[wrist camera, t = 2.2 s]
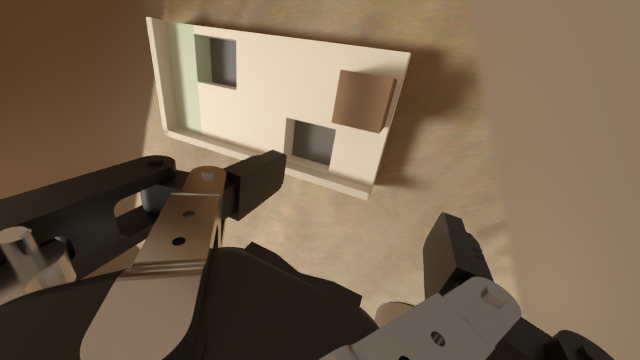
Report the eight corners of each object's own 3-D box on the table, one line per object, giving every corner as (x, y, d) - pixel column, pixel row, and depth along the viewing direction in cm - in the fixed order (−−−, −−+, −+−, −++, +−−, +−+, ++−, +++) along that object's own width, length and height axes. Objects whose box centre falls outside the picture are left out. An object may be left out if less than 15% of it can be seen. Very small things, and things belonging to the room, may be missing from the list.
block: (397, 79, 23) (393, 78, 20) (384, 127, 25) (379, 133, 22) (351, 72, 25) (340, 69, 21) (342, 118, 27) (331, 122, 23)
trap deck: (411, 56, 25) (409, 49, 20) (373, 185, 31) (366, 200, 27) (180, 25, 34) (145, 16, 30) (190, 129, 41) (163, 134, 37)
